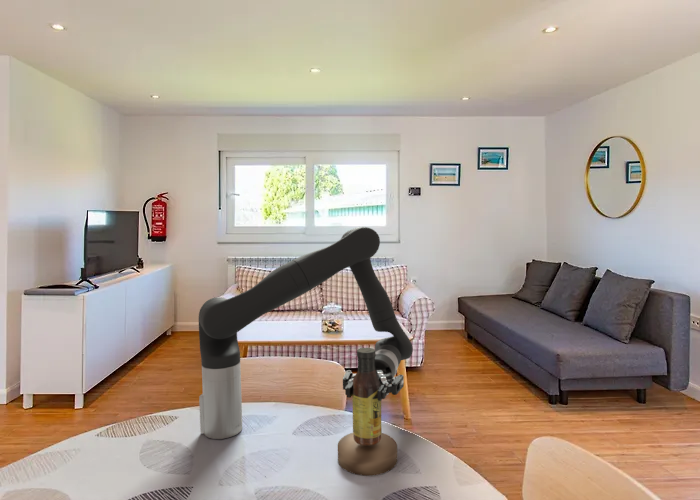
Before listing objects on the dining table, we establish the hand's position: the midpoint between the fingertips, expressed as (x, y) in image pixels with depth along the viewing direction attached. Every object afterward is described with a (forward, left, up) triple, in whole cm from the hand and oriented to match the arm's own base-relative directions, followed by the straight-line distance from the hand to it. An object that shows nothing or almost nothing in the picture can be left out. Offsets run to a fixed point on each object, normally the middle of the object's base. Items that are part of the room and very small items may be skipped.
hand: (363, 394), depth 91 cm
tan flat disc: (0, +2, -15) cm, 15 cm away
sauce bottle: (0, +2, -11) cm, 11 cm away
